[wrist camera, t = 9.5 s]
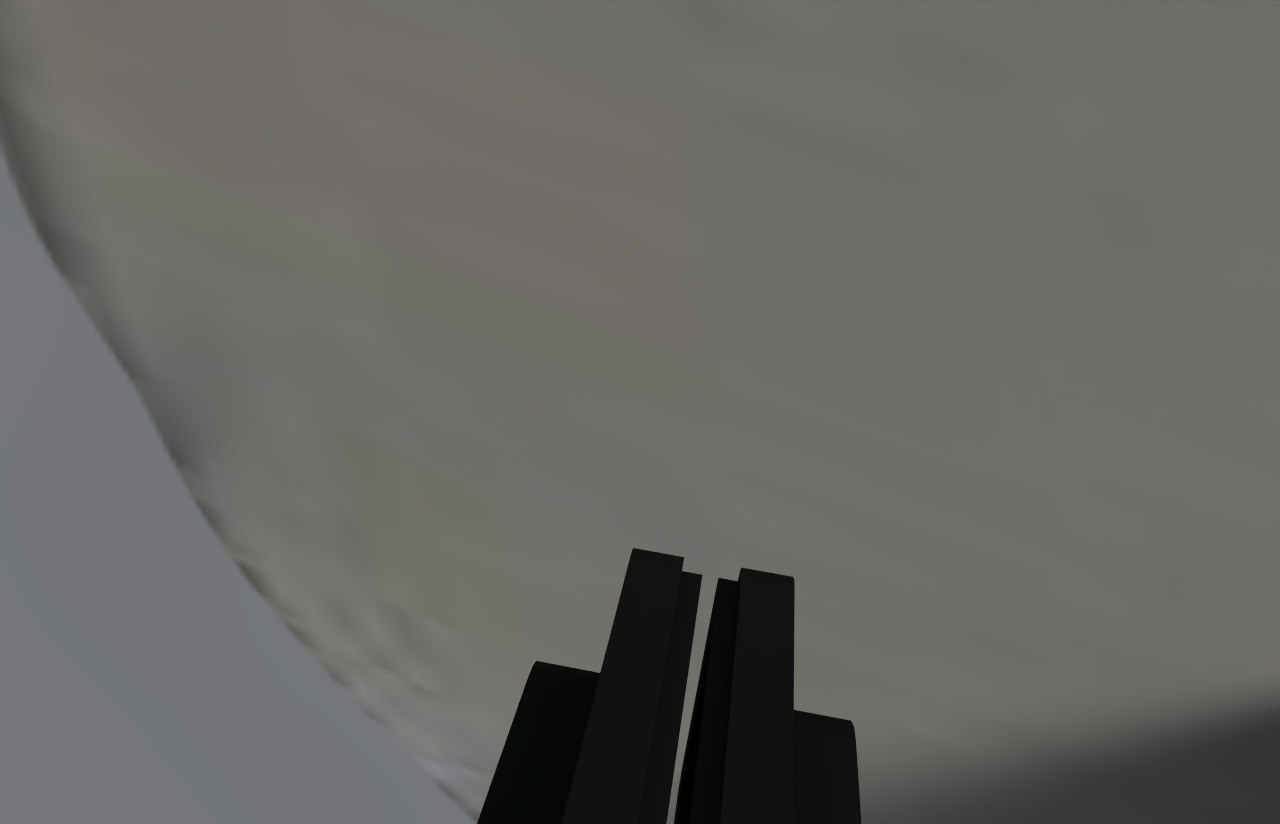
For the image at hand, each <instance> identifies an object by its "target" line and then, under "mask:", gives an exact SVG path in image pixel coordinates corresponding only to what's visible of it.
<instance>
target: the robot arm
mask: <svg viewBox="0 0 1280 824" xmlns="http://www.w3.org/2000/svg"><path fill="white" fill-rule="evenodd" d="M683 561H684V557H680V556H674V555H669V554H663V553H658V552H652V551H647V550H641V549H635V548H633V550H632V553H631V556H630V560H629V564H628V568H627V572H626V576H625V580H624V584H623V587H622V591H621V595H620V599H619V603H618V607H617V611H616V615H615V618H614V622H613V626H612V630H611V634H610V638H609V642H608V646H607V649H606V653H605V657H604V661H603V665H602V669H601V673H597V672H592V671H587V670H581V669H576V668H571V667H565V666H560V665H555V664H550V663H544V662H539V661H536V662H535V664H534V665H533V667H532V669H531V672H530V674H529V677H528V679H527V682H526V685H525V688H524V691H523V694H522V697H521V699H520V702H519V705H518V708H517V711H516V714H515V717H514V719H513V722H512V725H511V728H510V731H509V734H508V737H507V740H506V742H505V745H504V748H503V751H502V754H501V757H500V760H499V762H498V765H497V768H496V771H495V774H494V777H493V780H492V782H491V785H490V788H489V791H488V794H487V797H486V800H485V803H484V805H483V808H482V811H481V814H480V817H479V820H478V823H477V824H666V822H667V816H668V809H669V802H670V795H671V788H672V781H673V774H674V767H675V760H676V753H677V746H678V739H679V732H680V726H681V719H682V712H683V705H684V698H685V691H686V684H687V677H688V670H689V663H690V656H691V649H692V642H693V636H694V629H695V622H696V615H697V608H698V601H699V594H700V587H701V580H702V575H700V574H695V573H689V572H684V571H682V567H683ZM674 824H861V812H860V796H859V781H858V766H857V751H856V738H855V731H854V726H853V724H852V722H851V721H850V720H844V719H839V718H834V717H828V716H823V715H818V714H813V713H807V712H802V711H797V710H794V578H793V577H790V576H785V575H779V574H774V573H768V572H763V571H757V570H752V569H746V568H741V570H740V574H739V578H738V581H733V580H728V579H722V578H719V579H718V583H717V588H716V593H715V598H714V603H713V608H712V614H711V619H710V624H709V629H708V635H707V640H706V645H705V650H704V656H703V661H702V666H701V671H700V677H699V682H698V687H697V692H696V698H695V703H694V708H693V713H692V719H691V724H690V729H689V734H688V739H687V745H686V750H685V755H684V760H683V766H682V772H681V778H680V784H679V790H678V797H677V804H676V811H675V819H674Z"/></svg>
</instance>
